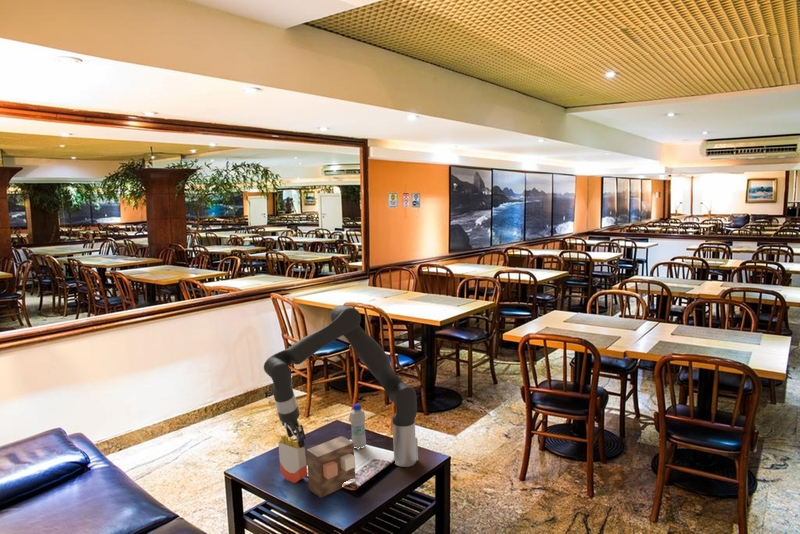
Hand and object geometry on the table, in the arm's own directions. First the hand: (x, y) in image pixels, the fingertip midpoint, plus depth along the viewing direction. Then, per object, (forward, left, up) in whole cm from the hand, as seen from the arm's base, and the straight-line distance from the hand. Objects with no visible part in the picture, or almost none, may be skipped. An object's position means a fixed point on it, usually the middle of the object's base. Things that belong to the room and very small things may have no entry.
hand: (296, 441), depth 200 cm
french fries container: (-2, -7, -19) cm, 20 cm away
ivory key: (-14, +13, -11) cm, 22 cm away
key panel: (-10, +8, -19) cm, 23 cm away
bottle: (-36, -10, -19) cm, 42 cm away
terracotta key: (-6, +13, -11) cm, 18 cm away
